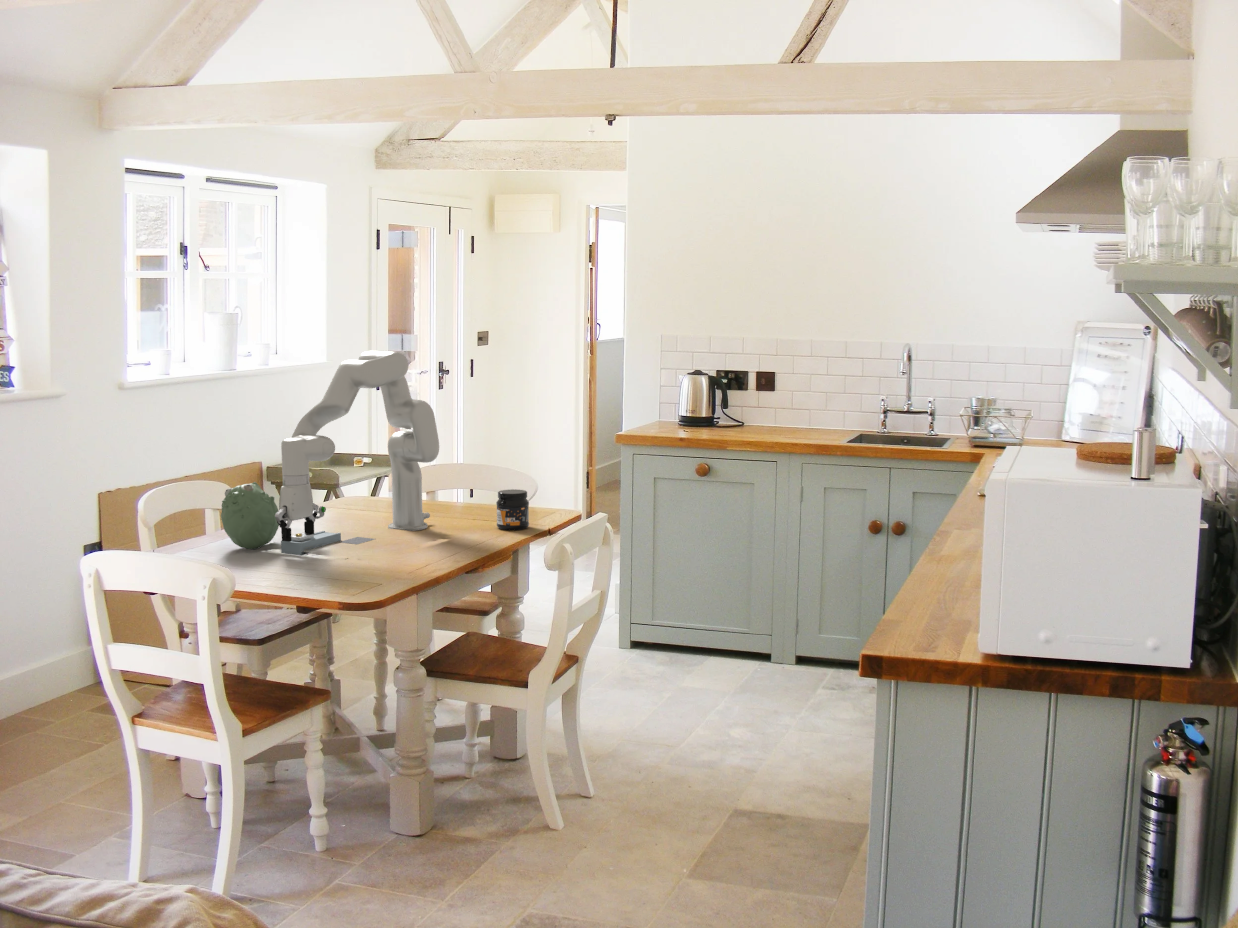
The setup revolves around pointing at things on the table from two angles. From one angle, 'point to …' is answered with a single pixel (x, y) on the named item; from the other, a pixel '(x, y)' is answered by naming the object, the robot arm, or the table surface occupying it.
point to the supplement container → (512, 510)
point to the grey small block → (302, 537)
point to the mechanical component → (321, 512)
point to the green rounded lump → (249, 516)
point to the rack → (309, 543)
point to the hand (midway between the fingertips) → (298, 538)
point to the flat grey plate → (357, 540)
